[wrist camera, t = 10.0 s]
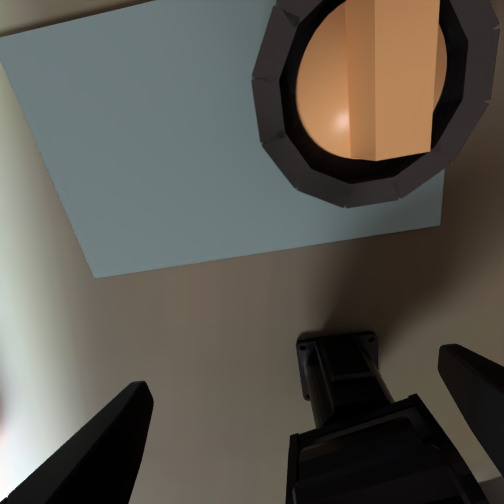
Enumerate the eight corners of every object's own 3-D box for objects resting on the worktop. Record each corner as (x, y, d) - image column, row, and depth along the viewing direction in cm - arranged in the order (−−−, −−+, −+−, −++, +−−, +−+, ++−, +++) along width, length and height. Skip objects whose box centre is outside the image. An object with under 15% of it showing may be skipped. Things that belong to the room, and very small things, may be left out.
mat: (436, 223, 19) (440, 225, 18) (97, 275, 21) (94, 278, 20) (459, -68, 13) (465, -74, 13) (-3, 42, 15) (-9, 39, 15)
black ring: (431, 177, 17) (479, 187, 13) (269, 205, 18) (272, 220, 14) (445, -35, 13) (517, -103, 10) (240, 12, 14) (234, -34, 11)
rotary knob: (422, 146, 14) (491, 146, 10) (301, 167, 15) (318, 176, 11) (430, -8, 12) (525, -91, 8) (286, 24, 12) (300, -38, 8)
